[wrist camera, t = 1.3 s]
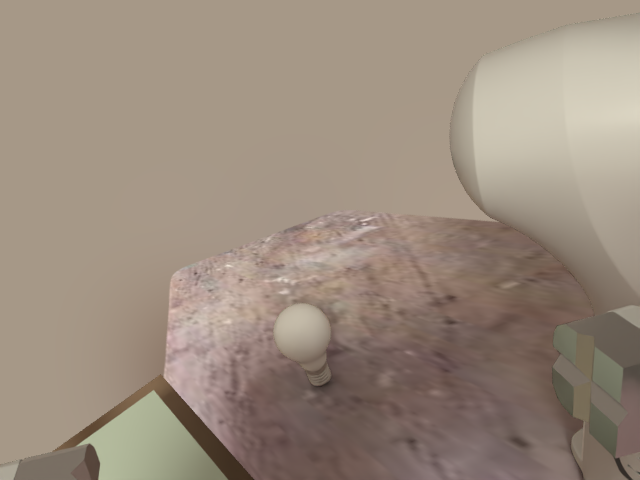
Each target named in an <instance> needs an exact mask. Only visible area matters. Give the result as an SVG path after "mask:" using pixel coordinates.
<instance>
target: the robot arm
mask: <svg viewBox="0 0 640 480" xmlns="http://www.w3.org/2000/svg"><path fill="white" fill-rule="evenodd" d="M450 149H451V155H452V160H453V164H454V167H455V169H456V173H457V175H458V178H459V180H460V182H461V183H462V185H463V187H464V189H465V191H466V192H467V193H468V195H469V196H470V198H471V199H472V200H473V202H474V203H475V204H476V205H477V206H478V207H479V208H480V209H481V210H482V211H483V212H484V213H486V214H487V215H488V216H489V217H490V218H492V219H495V220H497V221H499V222H501V223H503V224H506V225H508V226H510V227H511V228H513V229H515V230H517V231H519V232H521V233H522V234H524V235H526V236H527V237H529V238H530V239H532V240H533V241H535V242H536V243H538V244H539V245H541V246H542V247H543V248H544V249H546V250H547V251H548V252H550V253H551V254H552V255H553V256H554V257H555V258H556V259H557V260H558V261H560V262H561V263H562V264H563V265H564V266H565V267H566V269H567V270H568V271H569V272H570V273H571V274H572V275H573V276H574V277H575V279H576V280H577V281H578V283H579V284H580V285H581V287H582V288H583V290H584V291H585V293H586V295H587V296H588V298H589V300H590V303H591V305H592V308H593V312H594V316H593V317H589V318H585V319H581V320H577V321H573V322H570V323H566V324H562V325H558V326H557V327H556V330H555V332H554V337H553V347H554V348H555V349H556V350H557V351H558V352H559V353H560V356H559V357H558V359H557V360H556V362H555V363H554V365H553V367H552V382H553V386H554V389H555V392H556V395H557V397H558V399H559V401H560V402H561V404H562V405H563V407H564V408H565V409H566V410H567V411H568V412H569V413H570V414H571V415H572V416H573V417H575V418H578V419H580V420H583V421H584V423H583V428H582V429H580V430H579V431H578V432H576V433H575V434H574V435H573V437H572V441H571V450H572V453H573V455H574V458H575V460H576V461H577V463H578V465H579V467H580V469H581V470H582V473H583V479H584V480H640V13H636V14H630V15H624V16H618V17H612V18H605V19H599V20H593V21H587V22H581V23H575V24H569V25H565V26H562V27H559V28H556V29H553V30H550V31H547V32H545V33H542V34H539V35H536V36H533V37H530V38H527V39H524V40H521V41H519V42H516V43H514V44H511V45H508V46H506V47H503V48H501V49H498V50H495V51H493V52H490V53H487V54H485V55H483V56H482V57H481V58H480V59H479V61H478V62H477V63H476V64H475V65H474V67H473V68H472V69H471V71H470V73H469V74H468V75H467V77H466V79H465V80H464V83H463V84H462V86H461V88H460V90H459V93H458V95H457V98H456V101H455V103H454V107H453V111H452V116H451V122H450ZM99 470H100V461H99V458H98V456H97V453H96V450H95V448H94V446H92V445H91V444H90V443H89V444H85V445H80V446H76V447H72V448H67V449H63V450H59V451H54V452H50V453H46V454H41V455H38V456H33V457H28V458H25V459H24V460H16V461H12V462H8V463H5V464H0V480H98V478H99Z"/></svg>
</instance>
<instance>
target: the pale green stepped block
mask: <svg viewBox="0 0 640 480" xmlns="http://www.w3.org/2000/svg"><path fill="white" fill-rule="evenodd" d="M89 443H90V444H91V445H92V446H94V448H95V450H96V453H97V456H98V458H99V461H100V470H99V478H98V480H228V479H227V478H226V476H225V475H224V474H223V473H222V472H221V470H220V469H219V468H218V467H217V466H216V464H215V463H214V462H213V461H212V460H211V458H210V457H209V456H208V455H207V454H206V452H205V451H204V450H203V449H202V448H201V446H200V445H199V444H198V443H197V442H196V440H195V439H194V438H193V437H192V436H191V434H190V433H189V432H188V431H187V430H186V428H185V427H184V426H183V425H182V424H181V422H180V421H179V420H178V419H177V418H176V416H175V415H174V414H173V413H172V412H171V410H170V409H169V408H168V407H167V406H166V404H165V403H164V402H163V401H162V400H161V398H160V397H159V396H158V395H157V394H156V392H155V391H154V390H153V391H152V392H150V393H149V394H147V395H146V396H145V397H143V398H142V399H141V400H139V401H138V402H136V403H135V404H134V405H132V406H131V407H129V408H128V409H127V410H125V411H124V412H123V413H121V414H120V415H118V416H117V417H116V418H114V419H113V420H111V421H110V422H109V423H107V424H106V425H105V426H103V427H102V428H100V429H99V430H98V431H96V432H95V433H93V434H92V435H91V436H89V437H88V438H87V439H85V440H84V441H82V442H81V443H80V444H78V445H77V446H80V445H85V444H89ZM75 447H76V446H75Z"/></svg>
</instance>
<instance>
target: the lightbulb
mask: <svg viewBox="0 0 640 480" xmlns="http://www.w3.org/2000/svg"><path fill="white" fill-rule="evenodd" d="M273 337H274V342H275V344H276V346H277V348H278V350H279V351H280V352H281V353H282V354H283V355H284V356H285V357H287V358H288V359H290V360H293V361H295V362H298V364H299V365H300V366H301V367H302V368H303V369H304V370H305V372H306V374H307V377H308V379H309V381H310V383H311V384H312V385H314V386H321V385H324V384H326V383H327V382H328V381H329V380H330V379H331V371H330V369H329V366H328V363H327V361H326V360H327V352H326V350H327V348H328V345H329V343H330V339H331V326H330V322H329V320H328V318H327V316H326V315H325V314H324V312H323V311H322V310H320V309H319V308H318V307H316V306H314V305H311V304H308V303H297V304H293V305H291V306H288V307H287V308H285V309H284V310H283V311H282V312H281V313H280V314H279V315H278V317H277V319H276V321H275V323H274V328H273Z"/></svg>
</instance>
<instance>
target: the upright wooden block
mask: <svg viewBox="0 0 640 480" xmlns="http://www.w3.org/2000/svg"><path fill="white" fill-rule="evenodd" d="M153 390H154V391H155V392H156V394H157V395H158V396H159V397H160V398H161V400H162V401H163V402H164V403H165V404H166V406H167V407H168V408H169V409H170V410H171V412H172V413H173V414H174V415H175V416H176V418H177V419H178V420H179V421H180V422H181V424H182V425H183V426H184V427H185V428H186V430H187V431H188V432H189V433H190V434H191V436H192V437H193V438H194V439H195V440H196V442H197V443H198V444H199V445H200V446H201V448H202V449H203V450H204V451H205V452H206V454H207V455H208V456H209V457H210V458H211V460H212V461H213V462H214V463H215V464H216V466H217V467H218V468H219V469H220V470H221V472H222V473H223V474H224V475H225V476H226V478H227V479H228V480H254V479H253V478H252V477H251V475H250V474H249V473H248V472H247V471H246V470H245V469H244V468H243V466H242V465H241V464H240V463H239V462H238V461H237V460H236V459H235V457H234V456H233V455H232V454H231V453H230V452H229V451H228V450H227V448H226V447H225V446H224V445H223V444H222V443H221V442H220V441H219V439H218V438H217V437H216V436H215V435H214V434H213V433H212V432H211V430H210V429H209V428H208V427H207V426H206V425H205V424H204V423H203V421H202V420H201V419H200V418H199V417H198V416H197V415H196V414H195V412H194V411H193V410H192V409H191V408H190V407H189V406H188V405H187V403H186V402H185V401H184V400H183V399H182V398H181V397H180V396H179V394H178V393H177V392H176V391H175V390H174V389H173V388H172V387H171V385H170V384H169V383H168V382H167V381H166V380H165V379H164V378H163V376H161V375H159V376H158V377H156V378H155V379H153V380H152V381H151V382H149V383H148V384H146V385H145V386H144V387H142V388H141V389H139V390H138V391H137V392H135V393H134V394H132V395H131V396H130V397H128V398H127V399H125V400H124V401H123V402H121V403H120V404H118V405H117V406H116V407H114V408H113V409H111V410H110V411H109V412H107V413H106V414H104V415H103V416H102V417H100V418H99V419H97V420H96V421H95V422H93V423H92V424H91V425H89V426H88V427H86V428H85V429H83V430H82V431H81V432H79V433H78V434H76V435H75V436H74V437H72V438H71V439H69V440H68V441H67V442H65V443H64V444H62V445H61V446H60V447H59V448H57V449H55V450H54V451H59V450H63V449H67V448H72V447H75V446H77V445H78V444H80V443H81V442H82V441H84V440H85V439H87V438H88V437H89V436H91V435H92V434H93V433H95V432H96V431H98V430H99V429H100V428H102V427H103V426H105V425H106V424H107V423H109V422H110V421H111V420H113V419H114V418H116V417H117V416H118V415H120V414H121V413H123V412H124V411H125V410H127V409H128V408H129V407H131V406H132V405H134V404H135V403H136V402H138V401H139V400H141V399H142V398H143V397H145V396H146V395H147V394H149V393H150V392H152V391H153ZM54 451H53V452H54Z"/></svg>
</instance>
